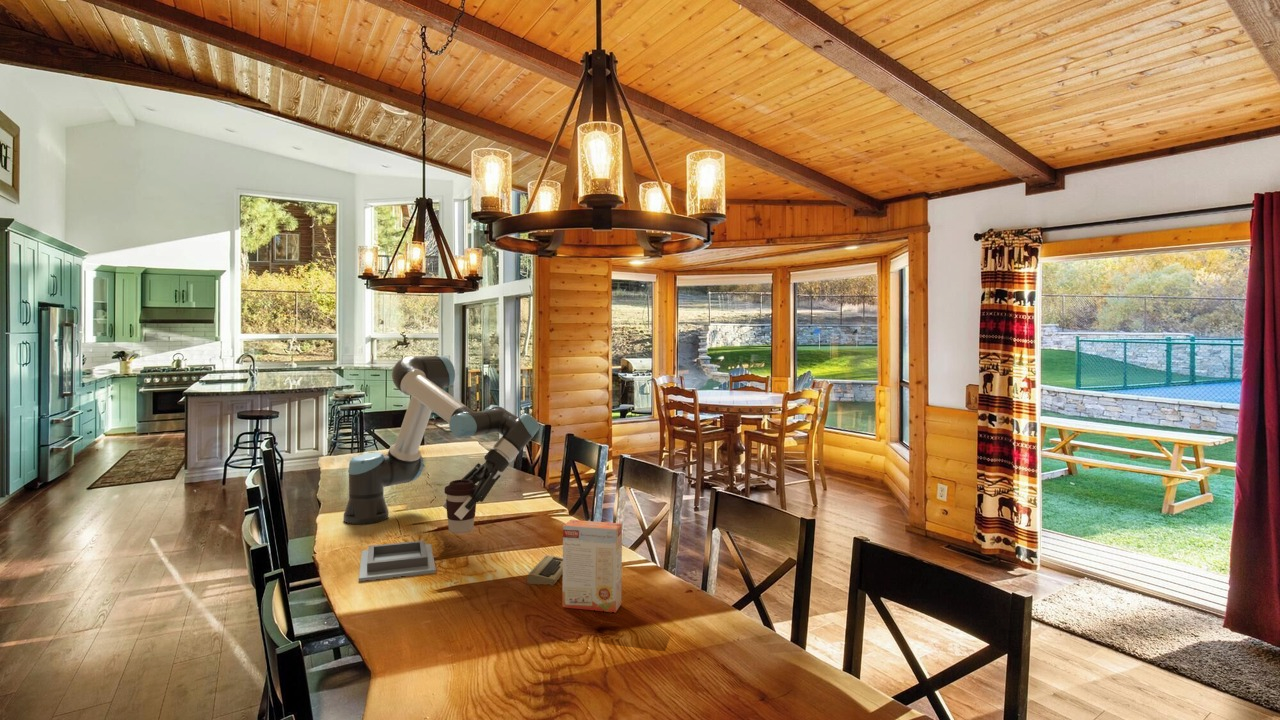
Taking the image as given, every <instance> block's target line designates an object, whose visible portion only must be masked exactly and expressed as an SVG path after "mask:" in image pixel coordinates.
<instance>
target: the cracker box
mask: <svg viewBox="0 0 1280 720" xmlns="http://www.w3.org/2000/svg"><path fill="white" fill-rule="evenodd" d="M622 554H623V524H622V523H619V522H607V521H591V520H580V519H579V520H578V519H570V520H569V521H567V522H565V524H564V525H562V558H563V574H562V591H561V592H562V593H561V594H562V597H561V598H562V608H568V609H577V610H585V611H594V610H595V611H594V612H603V611H604V613H605V612H606V613H612V612H614V614H615V613H617V611H619V609H620V606H621V605H622V587H623V586H622V585H623V584H622V583H623V582H622V578H623V577H622V576H623V575H622V574H623V573H622V572H623V570H622V569H623V562H622V561H623V560H622V559H623V557H622V556H623V555H622Z"/></svg>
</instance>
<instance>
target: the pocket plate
mask: <svg viewBox="0 0 1280 720" xmlns="http://www.w3.org/2000/svg"><path fill="white" fill-rule="evenodd" d="M436 568H437V567H436V565H435V559H434V554H433V548H432V544H431V543H426V540H424V539H423V540H414V541H405V542H393V543H392V542H391V543H384V544H374V545H372V544H371V545H368V549H364V550H361V557H360V565H359V573H358V582H359V581H363V582H366V581H365V580H372V581H377V580H376V579H380V580H387V579H388V578H389V579H394V578H393V577H398V578H402V577H401V576H406V577H414V576H421V575H428V574H429V575H430V574H436V573H437V569H436Z"/></svg>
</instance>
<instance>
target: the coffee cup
mask: <svg viewBox="0 0 1280 720" xmlns="http://www.w3.org/2000/svg"><path fill="white" fill-rule="evenodd" d="M461 479H462V478H461ZM461 479H456V480H455V479H454V480H452V481H450V482H449V485H447V486H445V487H444V494H445V495H446V499H445V502H446V505H447V510H446V517H447V526H448V531H449V533H452V534H458V535H459V534H467V533H471V532H472V531H473V530H474V525H475V517H476V509H477V502H476V503H475V505H474V506H473V507H472V508H471V509H470V510H469V512H468V513H467V514H466V515H465V516H464V517H463V519H462V520H461V519H460V518H458V517H457V516H456V515H455V514H454V513H455V512H456V511H457V510H458V509H459V508H460V507H461V505H462V504H463V503H464V502H465V501H466V500H467V499H468V497H469V496H470V495H471V494H473V493H474V491H475V489H476V487H477V485H478V484H474V483H473V481H471V480H464V479H462V480H461ZM470 497H471V496H470ZM471 498H472V497H471Z"/></svg>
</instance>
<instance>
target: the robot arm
mask: <svg viewBox="0 0 1280 720" xmlns="http://www.w3.org/2000/svg"><path fill="white" fill-rule="evenodd" d="M391 377H392V382H393V385H394V386H395V387H396V388H397V390H399V391H400V392H401V393H403V394H404V395H406V396H410V400H409V402H408V406H407V408H406V411H405V414H404V417H403V420H402V423H401V426H400V429H399V433H398V436H397V439H396V441H395V443H393V444H391V445H390V447H389V449H388V452H387V454H383V453H382V452H379V451H378V452H367V453H365V452H364V453H361V454H357V455H356V456H354V457H351V459H350V460H349V463H348V470H347V471H348V501H347V504H346V507H345V509H344V512H343V522H344V521H345V522H344V523H346V522H347V524H349V523H352V524H351V525H367V524H368V523H369V524H375V523H380V522H382V520H383V521H385V520H387V519H389V517H388V516H389V512H390V511H389V508H388V505H387V502H386V500H385V497H384V496H385V495H384V488H385V487H390V486H391V487H392V486H395V485H401V484H406V483H410V482H413V481H415V480H418V478H419V477H421V475H422V473H423V470H424V464H423V463H424V458H423V456H422V453H421V451H420V446H421V443H422V440H423V438H424V435H425V432H426V429H427V427H428V424H429V420H430V417H431V415H432V412H433V413H435V415H437V416H439V418H441V419H443V420H444V421H445V422H446V423H448V424H449V425H448V427H449V431H450V432H451V435H453V436H454V437H456V438H459V439H460V438H470V437H476V436H481V435H489V434H496V433H498V434H500V435H501V437H500V438H499V439H498V440H497V442H495V444H494V445H493V446H492V448H493V449H492V448H490V450H489V451H488V452H487V453H486V454H484V460H485V462H484V463H482V464H481V463H480V462H478V463H477V464H476V465H475V466H474V467H473V468H472V469H471V470H470V471H469V472H468V473H467V474H465V476H463V477H462V478H460V480H462V479H464V480H471V481H473V483H474V484H475V485H477V487H476V489H475V491H474V493H473V494H471V495H470V496H471V497H472V498H471V497H470V496H469V497H468V499H467V500H466V501H465V502H464V503H463V504H462V505H461V507H460V508H459V509H458V510H457V511H456V512H455V513H454V514H455V515H456V516H457V517H458V518H460V519H461V520H462V519H463V517H464V516H465V515H466V514H467V513H468V512H469V510H470V509H471V508H472V507H473V506H474V505H475V503H476V504H477V503H479V502H481V503H482V502H483V501H484V500H485V499H486V497H487V496H488V495H489V493H490V491H491V489H492V488H493V487H494V486H495V484H496V482H497V481H498V480H499V479H500V478H501V474H500V473H504V471H505V470H506V469H507V468H508V467H509V466H510V465H509V464H510V463H512V462H513V461H514V459H516V458H517V456H518V455H519V454H520V452H521V451H522V450H523V449H524V448H525V447H526V446H527V444H528V443H529V442H530V441H531V440H532V439H534V436H535V435H536V433H538V431H539V429H540V428H541V427H540V423H539V422H538V420H536V418H534V417H533V416H532V415H531V414H529V413H526V412H523V413H522V414H521V415H519V416H517V415H515V414H513V413H512V412H510V411H508V410H507V409H505V408H504V407H501V406H499V405H496V404H491V405H489V406H488V407H486V408H485V409H484V410H480V411H479V410H478V411H474V410H472V409H470V408H469V407H468V406H467V405H465V404H464V403H463V402H461V401H459V400H458V399H457V398H455V397H454V396H452V395H451V394H450V393H449V392H447V391H445V388H450V387H451V386H453V384H454V382H455V380H456V370H455V367H454V364H453V362H452V361H451V360H450V359H449V358H448V357H446V356H443V355H438V354H437V355H432V356H431V355H430V356H429V355H428V356H427V355H421V356H417V355H416V356H415V355H412V356H411V355H410V356H406V357H403V358H401V359H399V360H398V361H397V362H396V363H395V365H394V366H393V369H392V372H391ZM498 472H499V473H498ZM441 506H442V507H443V508H444V509H445V510H446V511H447V505H446V501H444V503H443V504H442V505H441ZM386 518H387V519H386ZM379 521H380V522H379ZM366 523H367V524H366ZM369 524H368V525H369Z"/></svg>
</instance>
